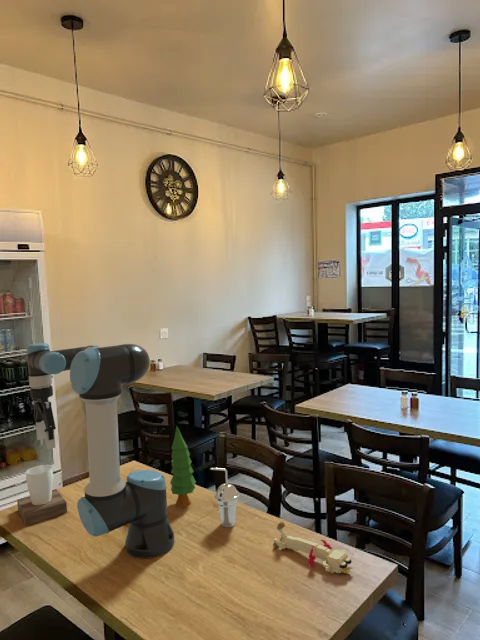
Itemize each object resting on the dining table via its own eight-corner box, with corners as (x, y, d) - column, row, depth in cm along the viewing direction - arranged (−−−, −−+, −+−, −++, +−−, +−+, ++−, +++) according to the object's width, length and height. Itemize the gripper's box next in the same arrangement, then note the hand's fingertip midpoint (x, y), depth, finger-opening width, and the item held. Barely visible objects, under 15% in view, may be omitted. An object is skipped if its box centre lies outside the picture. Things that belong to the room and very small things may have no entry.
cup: (45, 507, 168) (42, 475, 167) (22, 506, 170) (20, 474, 169) (59, 496, 177) (57, 465, 176) (38, 494, 179) (35, 464, 178)
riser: (67, 512, 173) (66, 502, 172) (25, 525, 164) (24, 514, 164) (57, 498, 184) (56, 488, 184) (18, 510, 176) (17, 499, 176)
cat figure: (269, 555, 143) (341, 582, 126) (266, 527, 143) (338, 550, 126) (288, 541, 151) (360, 564, 134) (286, 514, 150) (357, 534, 133)
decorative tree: (166, 506, 174) (161, 427, 171) (179, 495, 183) (175, 419, 180) (189, 510, 170) (185, 429, 168) (201, 498, 179) (197, 421, 176)
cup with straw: (235, 532, 155) (232, 473, 153) (210, 527, 158) (207, 469, 156) (244, 519, 162) (242, 463, 161) (220, 515, 166) (217, 460, 164)
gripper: (62, 389, 163) (66, 449, 165) (43, 379, 183) (47, 433, 185) (39, 393, 159) (44, 455, 160) (22, 383, 179) (27, 437, 180)
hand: (46, 443), depth 173 cm, fingers open, 13 cm apart
